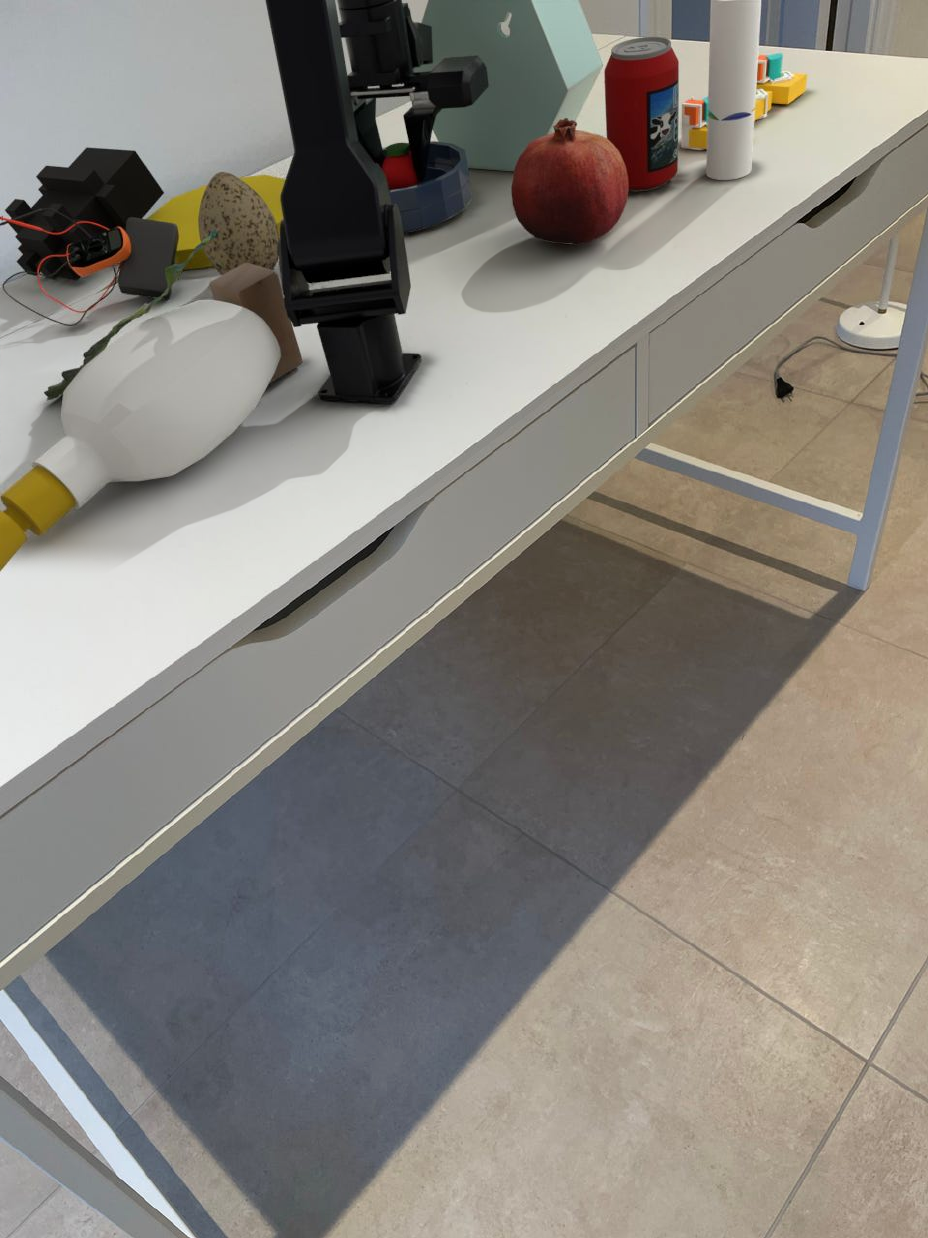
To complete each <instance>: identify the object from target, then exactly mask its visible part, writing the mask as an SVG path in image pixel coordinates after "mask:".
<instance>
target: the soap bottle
mask: <svg viewBox="0 0 928 1238" xmlns="http://www.w3.org/2000/svg"><path fill="white" fill-rule="evenodd" d="M280 358H281V351H280V346H279V344H278V341H277V339H276V337H275V336H274V334H273V332H272V331H271V329H270V327H269V326H268V325H267V324H266V323H265V321H264V320H263V319H262V318H260V317H259V316H258V315H257V314H256V313H254V312H252V311H250V310H248V309H246V308H244V307H241V306H238V305H235V304H231V303H227V302H222V301H216V300H214V299H199V300H196V301H192V302H190V303H188V304H185V305H182V306H179V307H176V308H174V309H171V310H169V311H166V312H163V313H161V314H159V315H156V316H154V317H151V318H148V319H146V320H144V321H143V322H141V323H140V324H138V325H137V326H135V327H133V328H132V329H130V330H129V331H127V332H126V333H124V334H123V335H121V336H120V337H118V338H117V339H116V340H114V341H113V342H111V343H110V344H108V345H107V347H106V348H105V349H104V350H103V351H102V352H101V353H99V354H98V355H97V356H96V357H95V358H93V359H92V360H91V361H90V362H89V363H87V364H86V365H85V366H84V367H83V368H82V369H81V370H80V372H79V373H78V374H77V375H76V377H75V378H74V379H73V380H72V382H71V383H70V384H69V385H68V387H67V388H66V389H65V390H64V392H63V394H62V401H61V408H60V409H61V410H60V423H61V426H62V429H63V433H64V437H62V438H61V439H60V440H59V441H57V442H56V443H55V444H54V445H52V446H51V447H50V448H49V449H47V451H45V452H44V453H43V454H41V456H39V457H38V458H37V459H35V460H34V461H32V465H31V466H32V468H31V469H30V471H28V472H27V473H25V474H24V475H23V476H22V477H21V478H19V480H17V481H16V482H15V483H13V484H12V485H11V486H10V487H9V488H7V490H6V491H4V492H3V493H1V494H0V500H1V503H2V504H3V505H4V507H5V509H4V510H3V511H2V510H0V572H1V571H2V570H3V569H4V568H5V566H7V564H8V563H9V562H10V561H11V559H12V558H13V557H14V556H15V554H17V552H18V551H19V550H20V549H21V547H22V546H23V545H24V544H25V542H27V540H28V536H27V534H26V532H27V531H30V532H32V533H33V534H35V535H37V536H43V535H44V534H45V533H46V532H48V530H50V529H51V528H52V527H53V526H54V525H55V524H57V522H59V521H60V520H61V519H63V517H64V516H66V515H67V514H68V513H69V512H70V511H71V510H73V509H74V510H75V509H76V510H79V509H81V508H82V507H83V506H84V505H85V504H86V503H87V502H89V500H91V499H92V498H93V497H94V496H95V495H96V494H98V492H100V491H101V490H102V489H103V488H104V487H106V486H107V484H109V483H111V482H113V483H114V482H143V481H149V480H157V479H162V478H169V477H172V476H174V475H176V474H178V473H179V472H182V471H183V470H185V469H187V468H188V467H190V466H192V465H194V464H195V463H197V462H199V461H200V460H202V459H204V458H205V457H207V455H209V454H210V453H211V452H212V451H213V450H215V449H216V448H217V447H218V446H219V445H220V444H222V443H223V442H224V441H225V440H226V439H227V438H228V437H230V436H231V435H232V434H233V433H234V432H235V431H236V430H237V429H238V428H239V426H241V424H242V423H243V422H244V421H245V420H246V419H247V417H248V416H250V414H251V413H252V412H253V411H254V410H255V409H256V408H257V406H258V404H259V402H260V400H261V398H262V396H263V395H264V394H265V391H266V389H267V387H268V386H269V384H270V383H269V382H270V380H271V378H272V377H273V375H274V373H275V370H276V368H277V365H278V363H279V360H280Z"/></svg>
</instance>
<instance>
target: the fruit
mask: <svg viewBox="0 0 928 1238" xmlns="http://www.w3.org/2000/svg"><path fill="white" fill-rule="evenodd" d="M577 126H578V122H577V121H576V122H575V121H574V120H568V118H565V119H564V120H562V119H560V120H559V122H558V123H557V124H556V125H555V126H553V128H554V131H555V132H554V133H551V134H548V135H546V136H543V137H540V138H538V139H536V140H533V141H532V142H530V143H529V145H528V146H527V147H526V148H525V150H524V151H523V152H522V154H521V155H520V157H519V159H518V161H517V163H516V166H515V169H514V171H513V175H512V181H511V186H510V187H511V188H510V195H511V205H512V207H513V210H514V213H515V216H516V220H517V221H518V223H519V224H520V225H521V227H522V228H524V230H525V231H526V232H527V233H529V234H530V235H531V236H533V237H534V238H536V239H539V240H542V241H545V242H549V243H555V244H565V245H566V244H568V245H575V246H581V245H584V244H588V243H592V242H593V241H595V240H597V239H599V238H601V237H603V236H605V235H606V234H607V233H609V232H610V231H611V230H612V229H613V228H614V227H615V226H616V225H617V223H618V222H619V220H620V218H621V217H622V215H623V213H624V210H625V208H626V205H627V203H628V196H629V191H628V190H629V183H628V176H627V170H626V166H625V163H624V161H623V159H622V156H621V154H620V152H619V151H618V149H617V148H615V146H614V145H613V144H612V143H611V142H610V141H609V140H608V139H607V137H605V136H603V135H600V134H597V133H593V132H589V131H585V130H579V129H577V128H576V127H577Z"/></svg>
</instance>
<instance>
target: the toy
mask: <svg viewBox="0 0 928 1238" xmlns="http://www.w3.org/2000/svg"><path fill="white" fill-rule="evenodd" d="M35 178H36V179H37V180H38V181H39V183H40V184H41V185H40V186H39V188H38V191H39V193H40V194H41V196H40V198H38V200H36V202H35V203H34V204H33V205H32V206H30V205H29V204H28V202H27V201H26V200H25V199H18V198H14V199H13V201H12V202H11V203H9V205H8V206H7V207H6V208H5V209H4V211H5V213H6V214H7V216H9V218H10V219H14V218H16V217H19V216H22V215H24V214H27V213H30V212H32V211H35V210H38V209H45V208H50V209H54V210H56V211H58V212H59V213H61V214H63V215H65V216H67V217H68V218H70V219H71V220H73V221H74V222H75V223H77V222H82V221H87V222H93V223H96V224H99V225H102V226H104V227H106V228H108V229H110V230H111V229H113V228H116V227H121V228H122V229H123V230H124V231H126V222H127V219H128V218H130V217H134V218H141V219H144V217H145V216H146V215H147V214H148V213H149V212H150V210H151V209H152V208H153V207H154V206H155V204H156V203H157V202H158V201H160V198H162V196H163V195H164V194H165V191H164V190H163V189H162V187H161V186H160V184H159V182H158V181H157V180H156V179H155V177H154V176H153V174H152V172H151V171H150V170H149V168H148V166H147V165H146V164H145V162H144V161H143V160H142V158H141V157H140V155H139V154H138V153H137V151H136V150H134V149H133V150H131V149H119V148H117V149H115V148H101V147H89V146H88V147H85V148H84V150H83V151H82V152H81V153H80V154H79V155H78V156H77V157H76V158H75V159H74V161H73V162H71V164H70V165H68V167H66V166H56V165H45V166H43V168H42V169H41V170H40V171H39V173H38V174H36V176H35ZM59 213H57V212H55V211H52V210H42V211H41V212H39V213H37V214H34V215H31V216H28V217H25V218H22V219H19V220H16V221H18V222H22V223H26V224H29V225H32V226H36V227H39V228H41V229H43V230H45V231H48V232H51V233H61V232H63V231H65V230H67V229H68V228H70V227H71V226H72V225H73V224H75V223H73V222H72V221H71V220H69V219H67V218H66V217H64V216H62V215H60V214H59ZM7 224H8V225H9V226H10V227H11V228H12V230H13V231H14V232H15V233H16V235H15V238H16V240H17V241H18V242H19V243H20V245H19V247H17V250H18V251H19V252H20V253H21V254H22V255H21V256H20V257H19V258H18V259H17V260H16V263H17V265H19V266H20V268H21V269H22V270H23V271H31V272H36V273H37V270H38V266H39V264H40V262H41V261H42V260H43V259H44V258H46V257H47V256H50V255H66V254H67V247H68V245H69V244H72V243H75V242H77V241H82V240H86V239H89V238H90V237H89V236H88V235H87V234H86V233H85V232H84V231H83V230H82V229H81V228H83V229H84V230H85V231H86V232H87V233H88V234H89V235H90V236H91V237H94V236H97V235H99V234H102V233H103V232H106V231H108V230H107V229H105V228H103V227H101V226H98V225H95V224H91V223H79V224H78V225H79V226H80V227H81V228H79V227H78V226H77V225H75V226H73V227H72V228H71V229H70V230H68V231H67V232H65V233H62V234H58V235H55V234H50V233H47V232H44V231H38V230H35V229H31V228H27V227H24V226H21V225H17V224H14V223H11V222H10V223H7ZM67 261H68V260H67V256H53V257H49V258H47V259H45V260H44V261H43V262H42V264H41V265H40V268H39V274H43V275H51V274H53V273H55V272H56V271H57V270H58V269H59V268H60V267H61V266H62V265H63V264H64V263H66V262H67ZM26 274H27V275H28V276H34V277H37V274H34V273H26ZM44 277H45V279H49V280H54V281H57V279H58V278H59V279H64V280H70V281H73V282H74V281H75V282H78V281H79V280H80V278H82V277H81V276H79V275H78V274H77V273H76V272H75V271H74V270H73V269H72V268H71V267H70V265H69V263H67V264H65V265H64V266H63V267H62V268H61V269H60V270H59V271H58V272H57V273H56V274H54V275H52V276H48V277H46V276H44Z"/></svg>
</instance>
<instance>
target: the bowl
mask: <svg viewBox="0 0 928 1238" xmlns="http://www.w3.org/2000/svg"><path fill="white" fill-rule="evenodd" d="M407 143H408V144H409V142H407ZM386 147H387V146H385V147H382V149H383V153H384V157H385V158H386V157H387V155H386V151H385V149H386ZM409 147H410V146H409ZM410 152H411V151H410ZM388 189H389V194H390V200H391V204H397V206H398V208H399V211H400V215H401V220H402V225H403V232H404V234H407V233H413V232H417V231H421V230H426V229H428V228H431V227H434V226H436V225H439V224H442V223H443V222H445V221H448V220H450V219H451V218H452V217H454V216H456V215H458V214H459V213H461V212H462V211H464V210H465V209H466V208H467V206H468V205H469V204H470V202H472V200H473V193H472V187H471V180H470V173H469V168H468V164H467V158H466V153H465V150H464V149H462V148H460V147H458V146H456V145H454V144H450V143H443V142H438V141H436V140H435V141H433V140H432V141H430V148H429V155H428V162H427V169H426V176H425V178H424V179H423V181H420V182H419V185H416V186H412V187H406V188H401V189H395V190H390V188H389V187H388Z"/></svg>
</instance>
